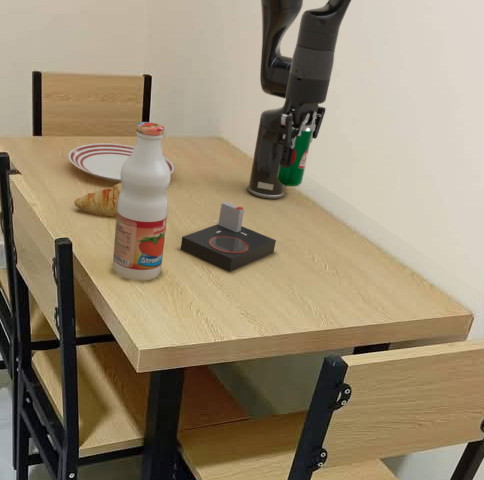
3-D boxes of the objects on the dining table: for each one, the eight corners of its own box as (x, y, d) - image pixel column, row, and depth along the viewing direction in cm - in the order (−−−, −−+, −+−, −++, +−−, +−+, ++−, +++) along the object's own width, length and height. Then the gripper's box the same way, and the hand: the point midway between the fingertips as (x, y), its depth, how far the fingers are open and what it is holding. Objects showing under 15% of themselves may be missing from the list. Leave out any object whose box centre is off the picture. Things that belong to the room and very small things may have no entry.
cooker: (223, 229, 167) (225, 216, 165) (276, 251, 160) (279, 238, 158) (174, 247, 155) (176, 233, 154) (229, 272, 148) (231, 257, 146)
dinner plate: (192, 175, 197) (194, 163, 195) (133, 199, 177) (134, 185, 175) (110, 149, 208) (111, 137, 206) (45, 168, 188) (45, 155, 186)
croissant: (76, 230, 165) (80, 206, 158) (69, 195, 170) (72, 171, 163) (166, 227, 172) (174, 204, 165) (157, 193, 176) (164, 170, 170)
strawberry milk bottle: (124, 256, 148) (137, 114, 134) (168, 268, 146) (185, 125, 131) (103, 273, 141) (114, 125, 126) (149, 286, 138) (165, 136, 124)
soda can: (300, 189, 144) (313, 127, 138) (275, 184, 145) (286, 123, 138) (301, 181, 149) (314, 120, 142) (277, 176, 149) (288, 116, 143)
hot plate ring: (224, 233, 157) (225, 232, 157) (256, 247, 153) (257, 246, 153) (200, 242, 151) (200, 241, 151) (232, 257, 147) (233, 256, 147)
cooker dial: (218, 225, 161) (221, 202, 158) (222, 223, 162) (226, 200, 159) (236, 232, 158) (240, 209, 155) (240, 231, 159) (244, 207, 157)
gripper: (312, 65, 142) (295, 152, 151) (272, 71, 132) (256, 164, 141) (346, 74, 139) (326, 162, 148) (308, 81, 129) (289, 176, 138)
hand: (292, 163), depth 145 cm, fingers closed on soda can, 5 cm apart
